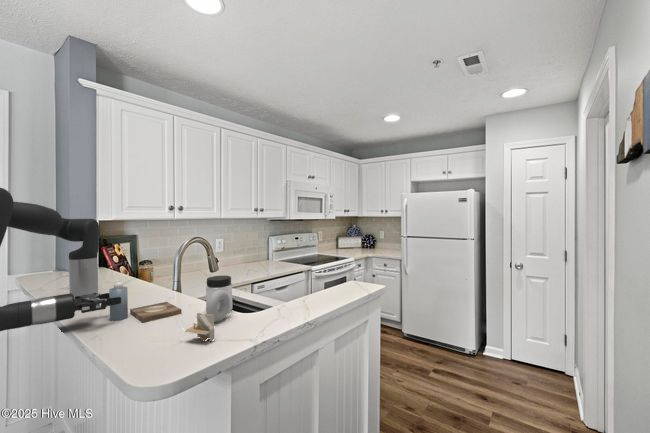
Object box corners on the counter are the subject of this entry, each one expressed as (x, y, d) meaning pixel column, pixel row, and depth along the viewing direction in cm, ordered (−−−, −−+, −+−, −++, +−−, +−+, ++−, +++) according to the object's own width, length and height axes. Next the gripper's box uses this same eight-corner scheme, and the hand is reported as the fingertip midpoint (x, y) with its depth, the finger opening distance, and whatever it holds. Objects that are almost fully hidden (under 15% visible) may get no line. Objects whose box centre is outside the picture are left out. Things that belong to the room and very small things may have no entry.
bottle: (108, 318, 102) (107, 282, 102) (125, 314, 106) (125, 280, 106) (111, 322, 99) (111, 284, 99) (129, 318, 102) (129, 282, 102)
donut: (213, 327, 93) (212, 294, 93) (203, 326, 94) (203, 293, 94) (232, 316, 102) (231, 286, 102) (223, 315, 103) (223, 286, 103)
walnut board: (130, 313, 107) (130, 308, 107) (166, 305, 116) (166, 301, 116) (142, 322, 98) (142, 317, 98) (181, 313, 106) (181, 308, 106)
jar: (212, 308, 112) (211, 275, 112) (234, 307, 113) (233, 274, 112) (203, 316, 103) (202, 280, 103) (227, 315, 104) (227, 280, 104)
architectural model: (206, 347, 80) (205, 319, 80) (185, 344, 82) (184, 316, 82) (214, 342, 83) (214, 315, 83) (194, 339, 86) (194, 312, 86)
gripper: (55, 300, 85) (123, 289, 97) (50, 292, 95) (112, 283, 107) (55, 327, 85) (123, 313, 97) (50, 316, 95) (112, 304, 107)
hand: (117, 297), depth 102 cm, fingers open, 8 cm apart
